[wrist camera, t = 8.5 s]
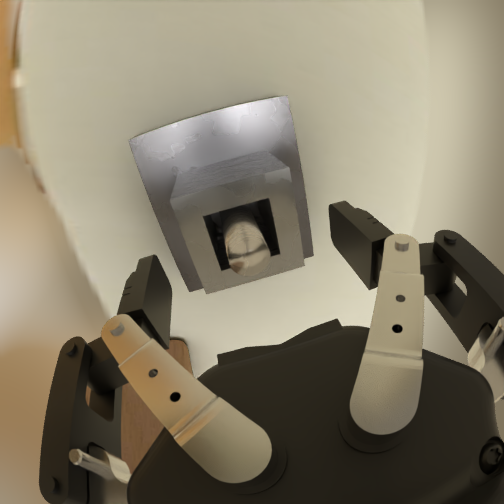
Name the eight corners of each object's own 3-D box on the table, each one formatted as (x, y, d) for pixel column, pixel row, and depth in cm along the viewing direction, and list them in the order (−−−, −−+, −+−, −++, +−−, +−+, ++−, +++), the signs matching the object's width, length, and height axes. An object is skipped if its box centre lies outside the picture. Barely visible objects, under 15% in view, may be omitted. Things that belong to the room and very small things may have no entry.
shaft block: (135, 136, 16) (84, 164, 8) (278, 96, 16) (341, 93, 9) (189, 277, 22) (190, 365, 15) (305, 243, 23) (354, 316, 15)
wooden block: (95, 335, 24) (67, 522, 7) (186, 335, 26) (205, 543, 9) (121, 386, 29) (116, 531, 12) (196, 387, 31) (215, 538, 14)
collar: (177, 174, 16) (169, 200, 12) (265, 149, 16) (289, 167, 12) (203, 249, 19) (206, 294, 15) (280, 227, 19) (304, 265, 15)
